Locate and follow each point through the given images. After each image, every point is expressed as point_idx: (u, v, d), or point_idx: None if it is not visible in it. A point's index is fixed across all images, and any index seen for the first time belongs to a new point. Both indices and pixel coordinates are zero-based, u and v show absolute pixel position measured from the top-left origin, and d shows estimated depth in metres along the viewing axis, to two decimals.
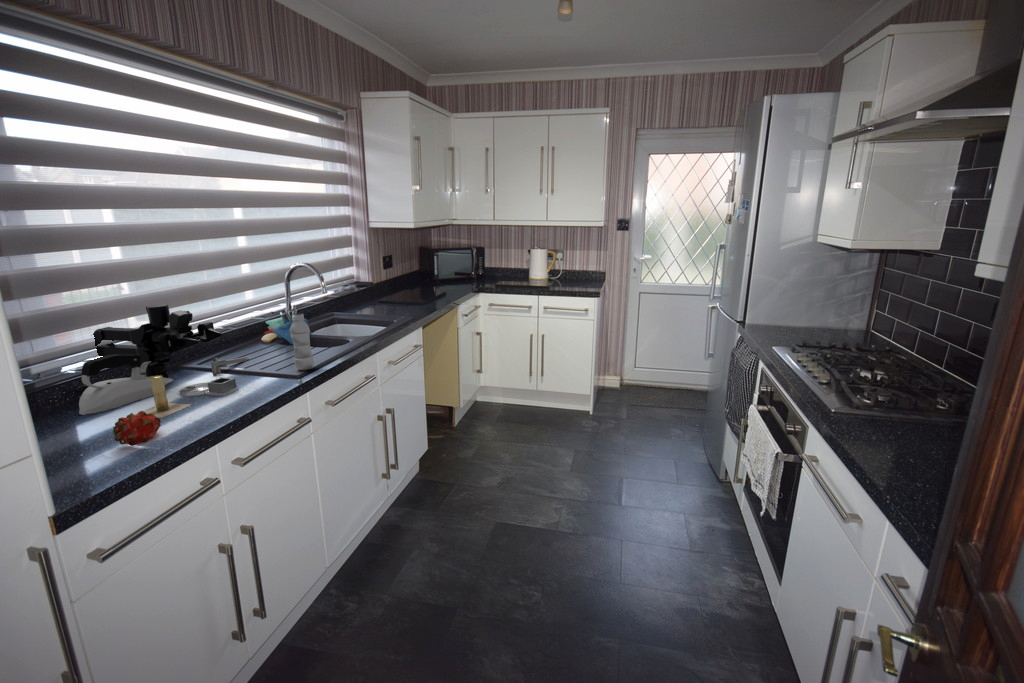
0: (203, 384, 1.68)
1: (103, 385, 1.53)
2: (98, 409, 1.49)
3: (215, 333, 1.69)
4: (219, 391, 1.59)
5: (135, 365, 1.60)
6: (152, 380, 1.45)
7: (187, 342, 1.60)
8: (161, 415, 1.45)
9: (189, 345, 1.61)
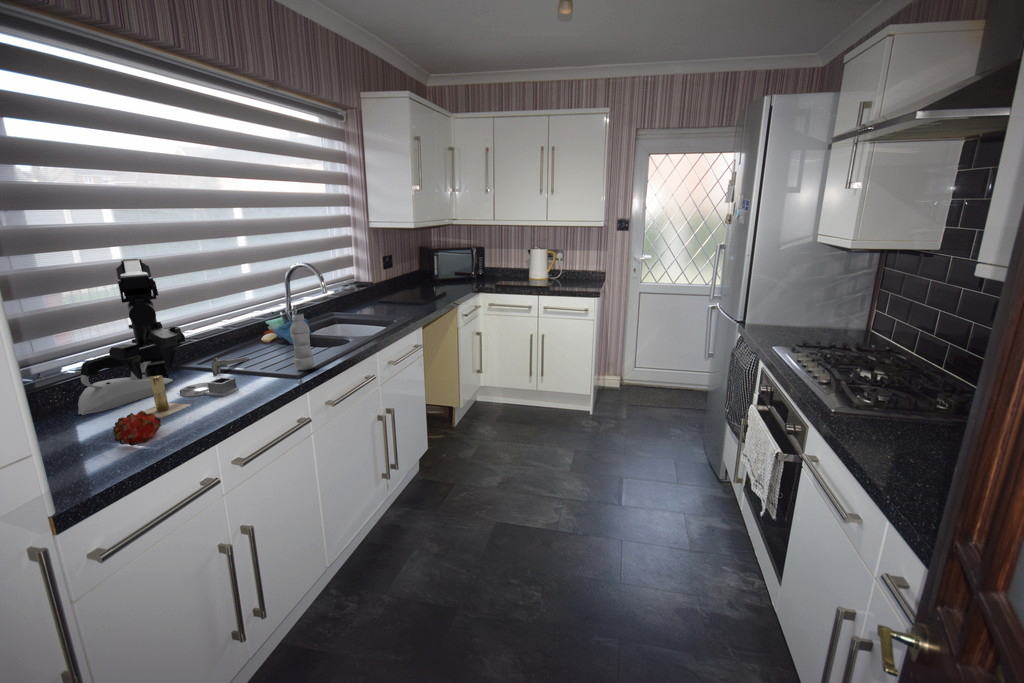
0: (203, 384, 1.68)
1: (102, 385, 1.53)
2: (97, 409, 1.49)
3: (168, 362, 1.50)
4: (219, 391, 1.59)
5: None
6: (152, 380, 1.45)
7: (134, 369, 1.40)
8: (161, 415, 1.45)
9: (132, 371, 1.41)
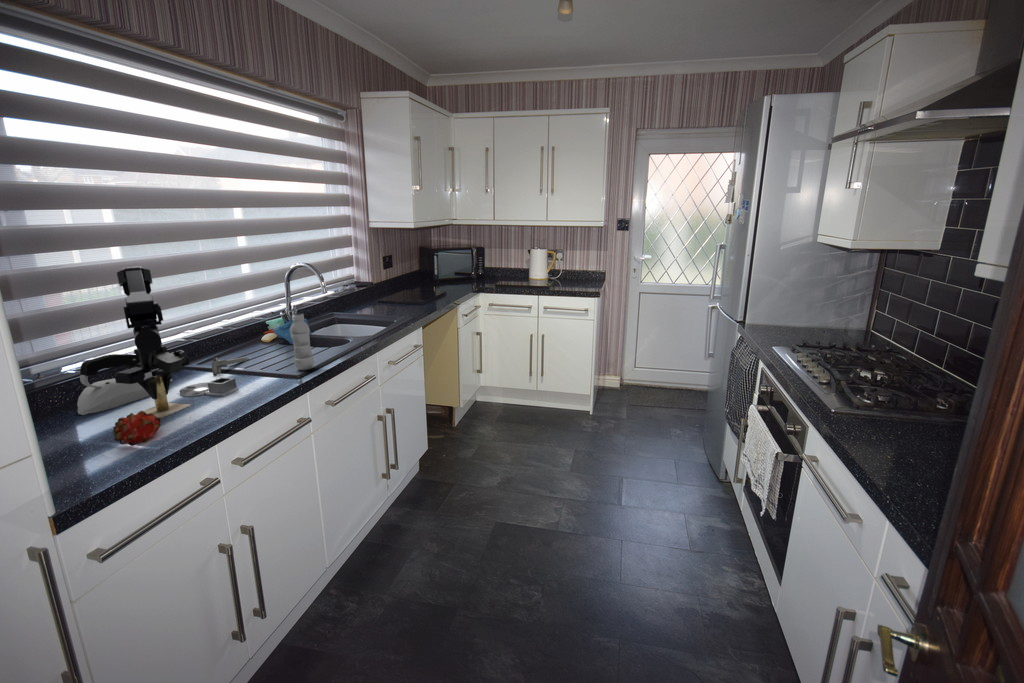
0: (203, 384, 1.68)
1: (101, 385, 1.53)
2: (96, 409, 1.49)
3: None
4: (219, 391, 1.59)
5: (134, 365, 1.60)
6: None
7: (149, 390, 1.45)
8: (161, 415, 1.45)
9: (147, 391, 1.45)
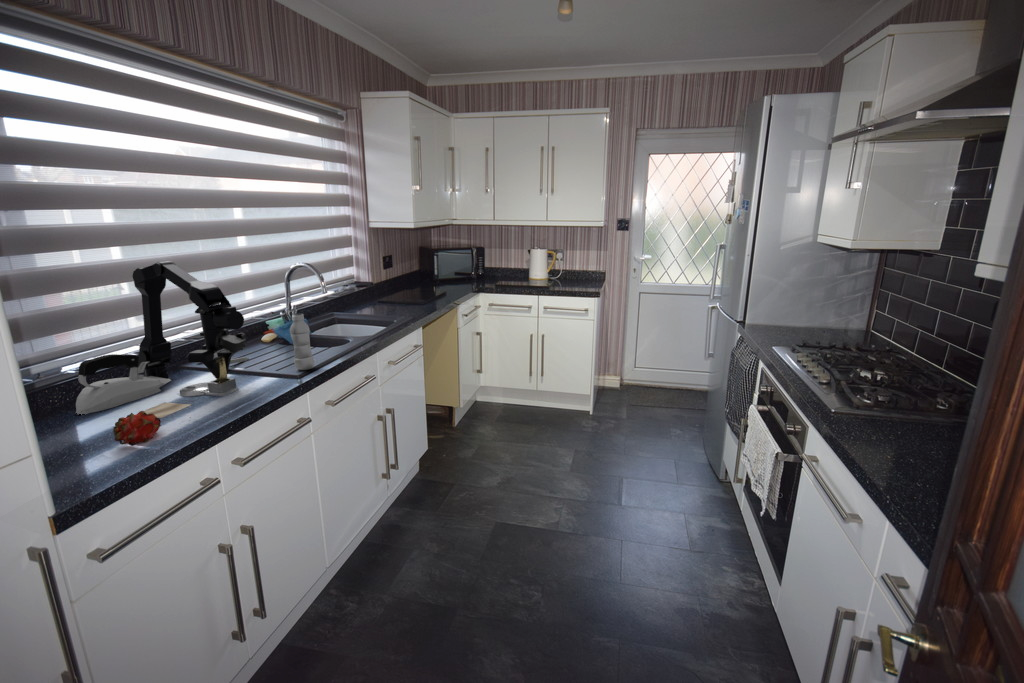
0: (203, 384, 1.68)
1: (100, 385, 1.54)
2: (94, 409, 1.49)
3: None
4: (219, 391, 1.59)
5: (133, 365, 1.60)
6: None
7: (213, 370, 1.58)
8: (161, 415, 1.45)
9: (211, 371, 1.59)
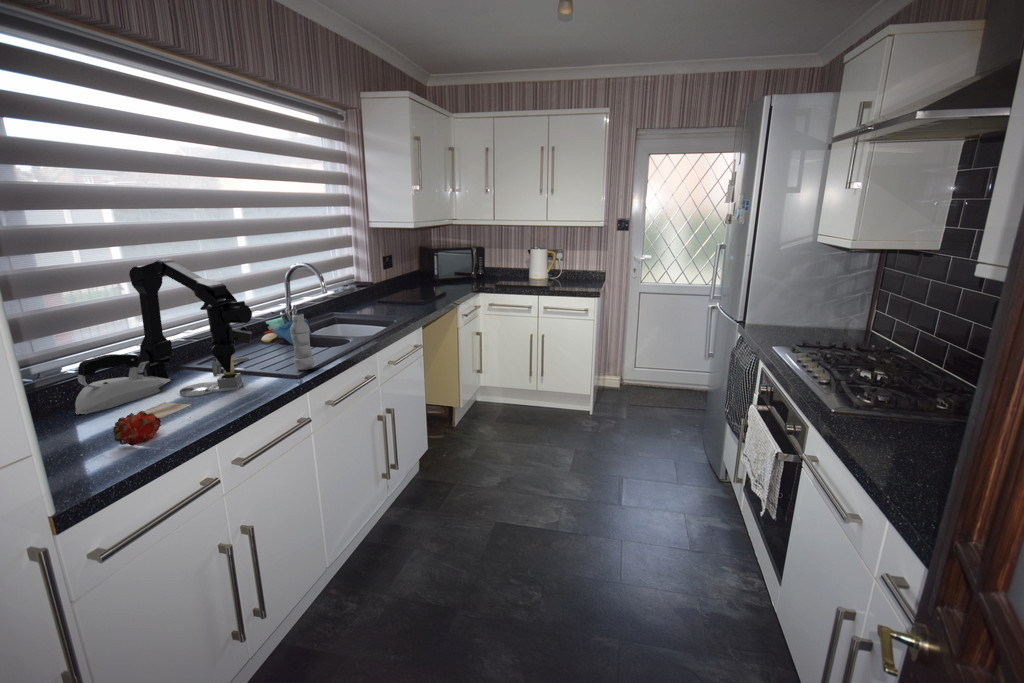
0: (197, 385, 1.67)
1: (99, 385, 1.54)
2: (93, 409, 1.49)
3: None
4: (232, 385, 1.64)
5: (132, 365, 1.60)
6: None
7: (226, 364, 1.63)
8: (161, 415, 1.45)
9: (223, 365, 1.63)
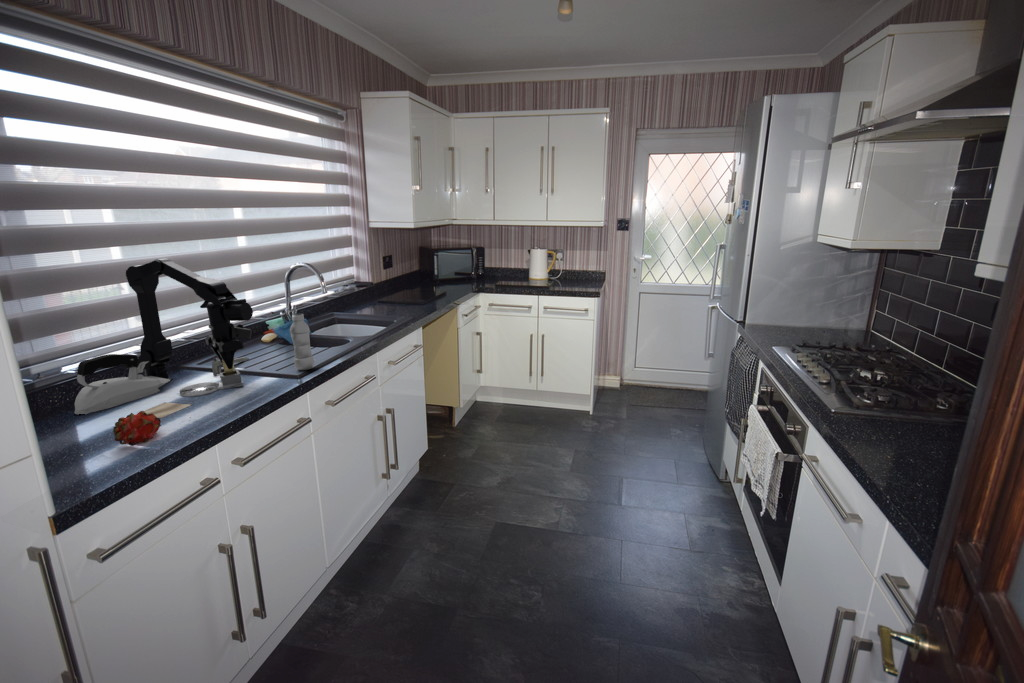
0: (193, 386, 1.66)
1: (99, 385, 1.54)
2: (92, 409, 1.49)
3: None
4: (236, 381, 1.68)
5: (132, 365, 1.60)
6: None
7: (229, 360, 1.66)
8: (161, 415, 1.45)
9: (226, 362, 1.66)
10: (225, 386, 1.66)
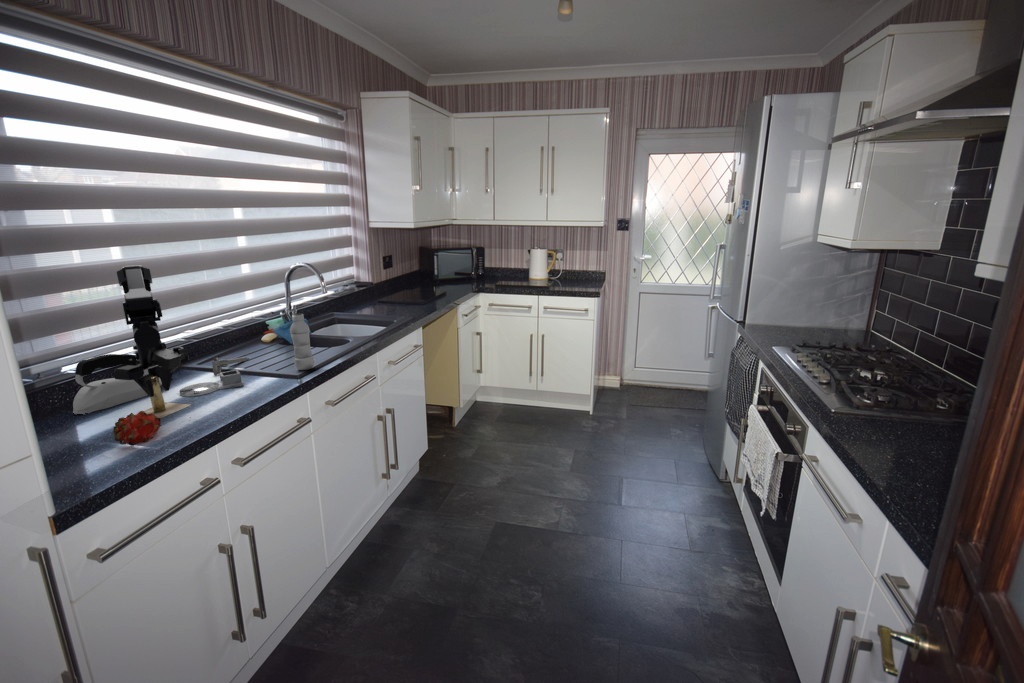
0: (193, 386, 1.66)
1: (97, 385, 1.54)
2: (90, 409, 1.49)
3: (166, 384, 1.49)
4: (236, 381, 1.68)
5: None
6: None
7: (145, 388, 1.44)
8: (161, 415, 1.45)
9: (143, 389, 1.44)
10: (225, 386, 1.66)
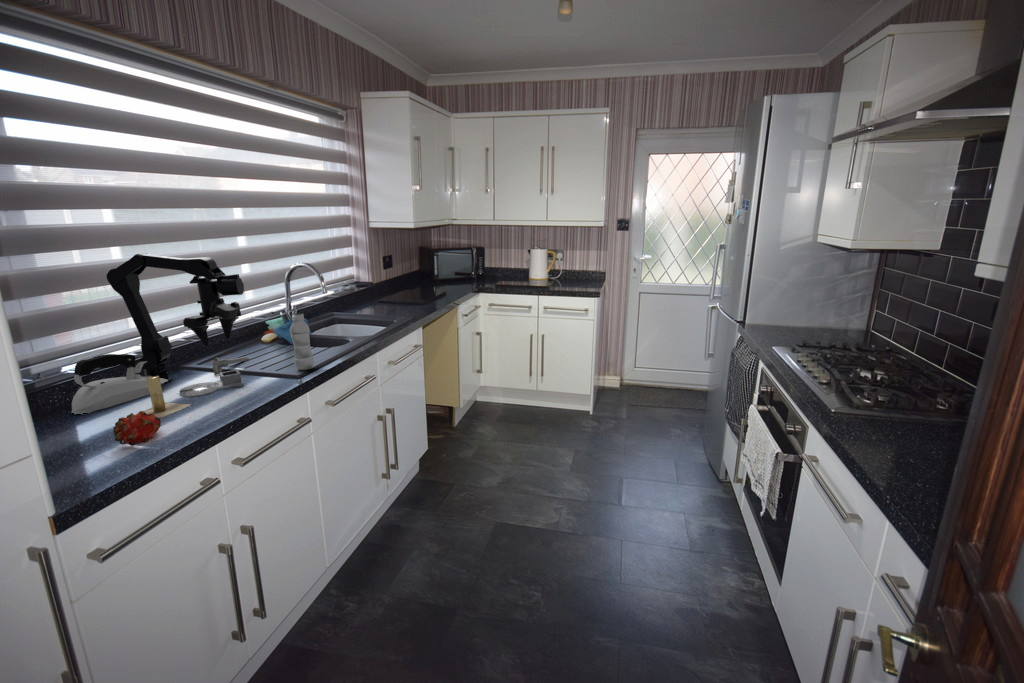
0: (193, 386, 1.66)
1: (96, 384, 1.54)
2: (89, 409, 1.49)
3: (227, 332, 1.78)
4: (236, 381, 1.68)
5: (129, 365, 1.60)
6: (149, 381, 1.45)
7: (202, 337, 1.69)
8: (161, 415, 1.45)
9: (200, 338, 1.69)
10: (225, 386, 1.66)
